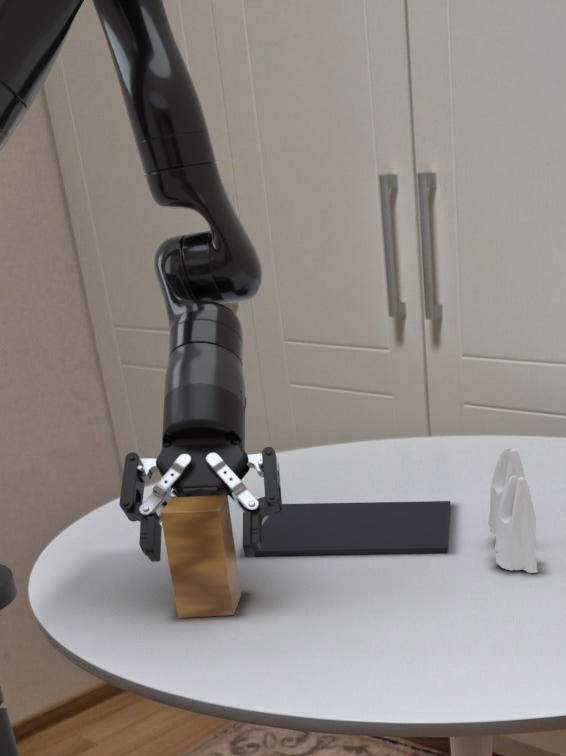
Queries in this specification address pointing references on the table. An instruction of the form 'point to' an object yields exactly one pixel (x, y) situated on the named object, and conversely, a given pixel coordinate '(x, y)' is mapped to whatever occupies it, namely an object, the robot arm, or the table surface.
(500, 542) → the shaker set
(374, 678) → the table surface
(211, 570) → the oak block
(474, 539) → the table surface
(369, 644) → the table surface
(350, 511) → the rubber mat
